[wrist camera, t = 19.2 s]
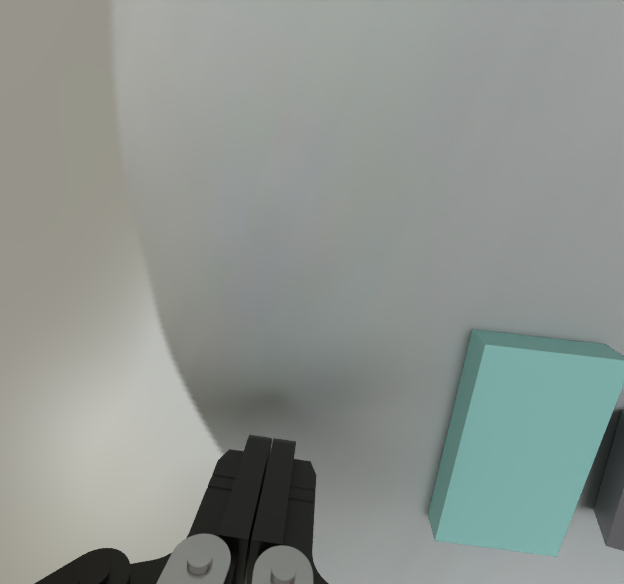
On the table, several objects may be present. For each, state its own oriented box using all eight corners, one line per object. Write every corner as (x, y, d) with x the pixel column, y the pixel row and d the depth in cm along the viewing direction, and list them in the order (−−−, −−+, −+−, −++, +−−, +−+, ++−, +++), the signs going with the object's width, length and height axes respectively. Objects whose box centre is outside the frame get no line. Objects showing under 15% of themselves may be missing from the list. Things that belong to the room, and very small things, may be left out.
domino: (425, 505, 18) (468, 324, 15) (535, 519, 18) (598, 339, 15) (435, 540, 16) (485, 344, 13) (556, 556, 16) (632, 361, 13)
